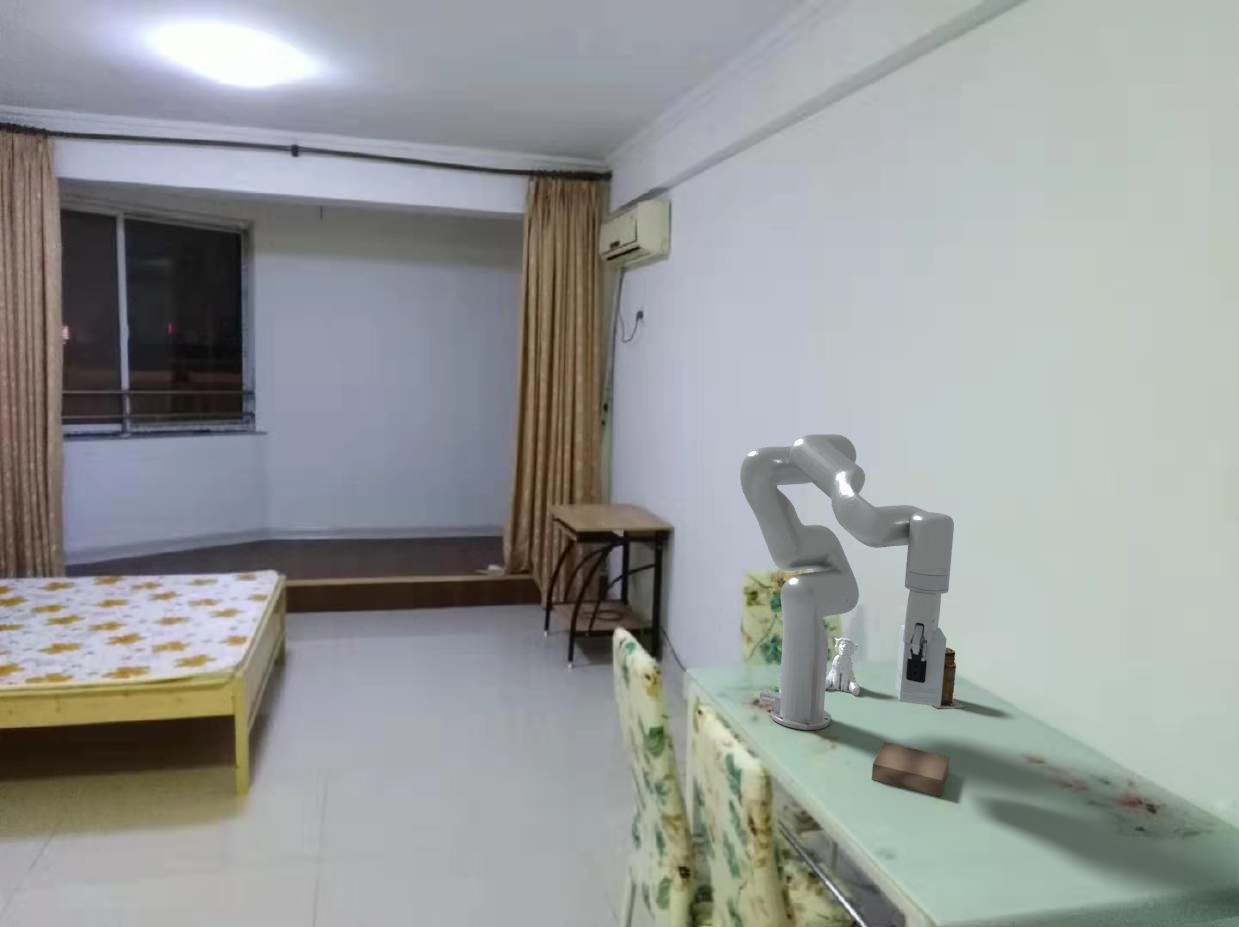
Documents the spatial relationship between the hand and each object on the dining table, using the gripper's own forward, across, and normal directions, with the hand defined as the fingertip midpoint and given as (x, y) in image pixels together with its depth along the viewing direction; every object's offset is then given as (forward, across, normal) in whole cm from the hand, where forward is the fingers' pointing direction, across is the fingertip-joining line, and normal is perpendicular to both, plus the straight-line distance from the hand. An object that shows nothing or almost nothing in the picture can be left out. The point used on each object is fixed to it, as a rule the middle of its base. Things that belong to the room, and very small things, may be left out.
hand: (919, 673), depth 161 cm
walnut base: (+20, 0, 0) cm, 20 cm away
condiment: (+20, -43, 0) cm, 48 cm away
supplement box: (+5, 0, 0) cm, 5 cm away
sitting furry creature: (+20, -39, -22) cm, 49 cm away
